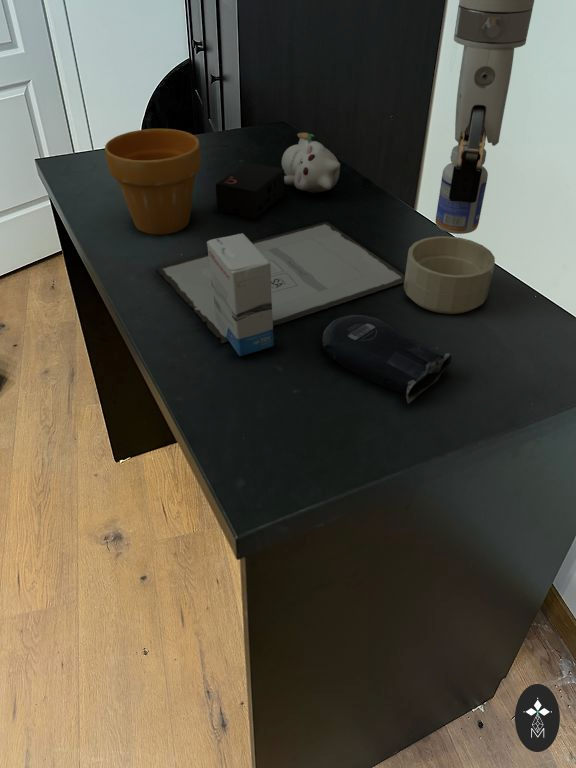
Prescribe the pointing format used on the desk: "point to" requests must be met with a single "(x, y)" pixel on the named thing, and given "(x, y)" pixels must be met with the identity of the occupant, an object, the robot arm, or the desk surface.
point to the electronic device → (250, 190)
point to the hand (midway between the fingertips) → (463, 189)
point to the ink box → (241, 293)
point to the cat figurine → (310, 166)
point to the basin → (448, 274)
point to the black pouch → (383, 354)
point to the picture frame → (293, 274)
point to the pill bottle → (456, 213)
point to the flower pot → (156, 176)
